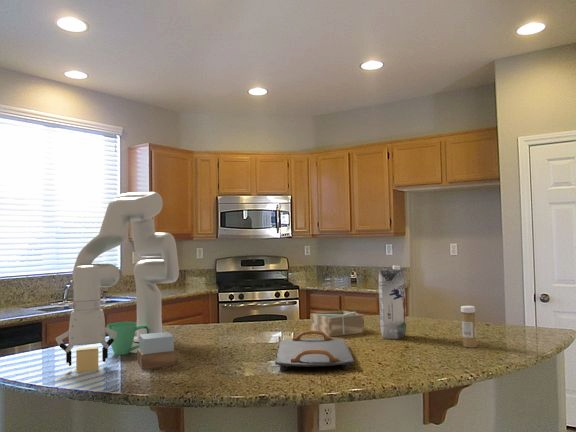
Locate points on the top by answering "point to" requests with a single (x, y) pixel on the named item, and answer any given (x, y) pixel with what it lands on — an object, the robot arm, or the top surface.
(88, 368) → the ochre cube
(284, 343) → the serving board
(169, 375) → the top surface
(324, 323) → the coaster caddy
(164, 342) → the slate block
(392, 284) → the juice carton
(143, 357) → the walnut block
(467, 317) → the sprinkles bottle
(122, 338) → the mug
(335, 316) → the right angle wall
